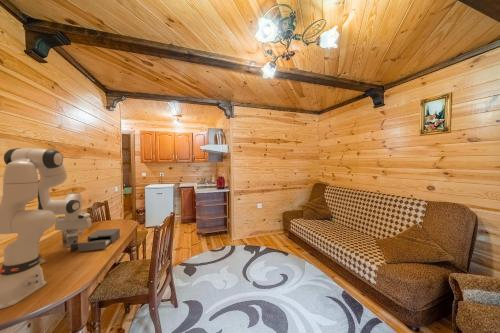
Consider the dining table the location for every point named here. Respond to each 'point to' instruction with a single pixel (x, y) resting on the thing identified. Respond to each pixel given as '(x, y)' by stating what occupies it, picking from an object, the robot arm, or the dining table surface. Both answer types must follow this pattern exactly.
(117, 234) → the housing
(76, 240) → the coffee box
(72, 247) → the grey rounded piece
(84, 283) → the dining table surface
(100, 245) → the tray
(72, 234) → the disc
